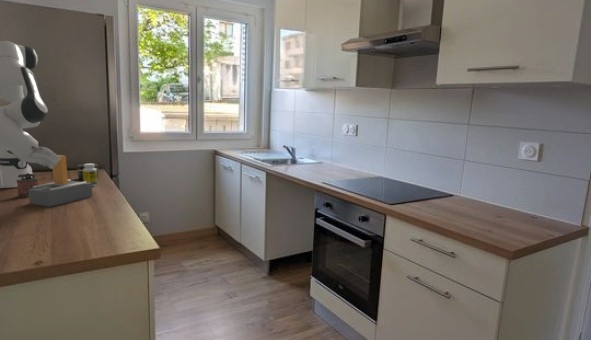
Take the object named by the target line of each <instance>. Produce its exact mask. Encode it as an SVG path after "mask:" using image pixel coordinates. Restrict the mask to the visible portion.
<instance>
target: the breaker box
mask: <svg viewBox="0 0 591 340" xmlns="http://www.w3.org/2000/svg"><path fill="white" fill-rule="evenodd" d="M92 187H93V186H92V184H91V183H87V182H86V181H85V182H83V181H75V180H72V179H68V184H57V183H54V181H53V182H47V183H42V184H38V185H36V186H33V189H28V192H29V196H28V201H29V205H30V204H31V205H36V206H41V207H42V206H43V207H48V208H50V207H55V206H59V205H62V204H67V203H70V202H75V201H79V200H80V201H81V200H84V199H86V198H87V199H88V198H91V197H93V188H92Z"/></svg>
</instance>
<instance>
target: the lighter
mask: <svg viewBox="0 0 591 340" xmlns="http://www.w3.org/2000/svg"><path fill="white" fill-rule="evenodd" d="M35 175H36V174H35V173H32V174H29V173H26V174H19V175H18V177H22V179H18V180H16V181H17V186H18V187H17V192H18V194H17V197H18V198H23V197H24V196H26V197H29V192H28V189H33V186H36V185H39V177H35ZM31 176H32V177H31ZM24 177H25V179H24ZM24 198H25V197H24Z"/></svg>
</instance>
